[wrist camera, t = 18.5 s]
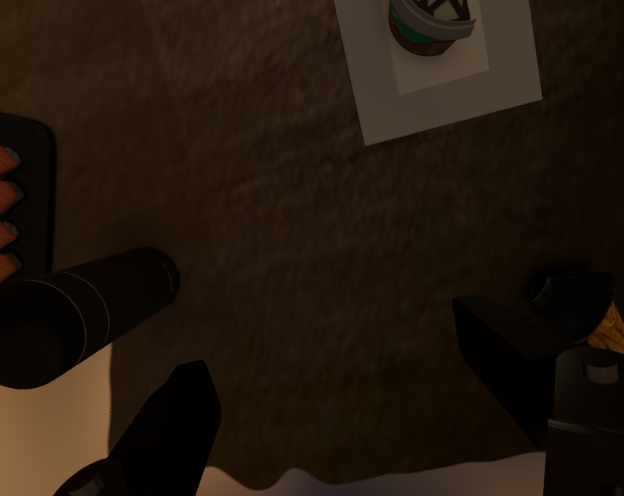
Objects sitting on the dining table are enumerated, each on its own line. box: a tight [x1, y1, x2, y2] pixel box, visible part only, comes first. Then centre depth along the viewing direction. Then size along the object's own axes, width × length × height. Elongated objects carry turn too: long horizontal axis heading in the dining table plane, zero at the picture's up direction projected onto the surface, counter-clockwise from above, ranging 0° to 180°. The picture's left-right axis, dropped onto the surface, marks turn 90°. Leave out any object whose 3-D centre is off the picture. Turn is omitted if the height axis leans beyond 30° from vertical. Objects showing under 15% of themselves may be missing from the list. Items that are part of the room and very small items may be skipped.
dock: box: [333, 0, 542, 147], centre depth 38 cm, size 20×24×1 cm
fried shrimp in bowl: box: [527, 270, 624, 354], centre depth 38 cm, size 9×11×18 cm
